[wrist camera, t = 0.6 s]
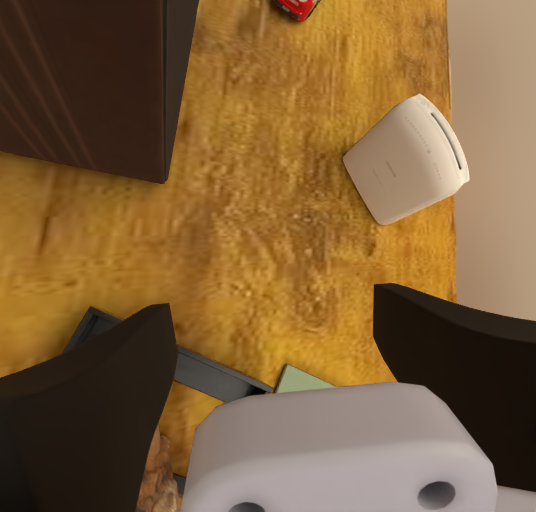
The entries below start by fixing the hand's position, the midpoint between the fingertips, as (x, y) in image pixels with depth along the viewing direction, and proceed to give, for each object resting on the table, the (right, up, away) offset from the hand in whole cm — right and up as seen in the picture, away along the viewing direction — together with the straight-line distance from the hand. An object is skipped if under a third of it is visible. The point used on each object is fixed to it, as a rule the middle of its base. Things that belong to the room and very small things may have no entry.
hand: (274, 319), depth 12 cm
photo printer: (+12, +11, +30) cm, 34 cm away
